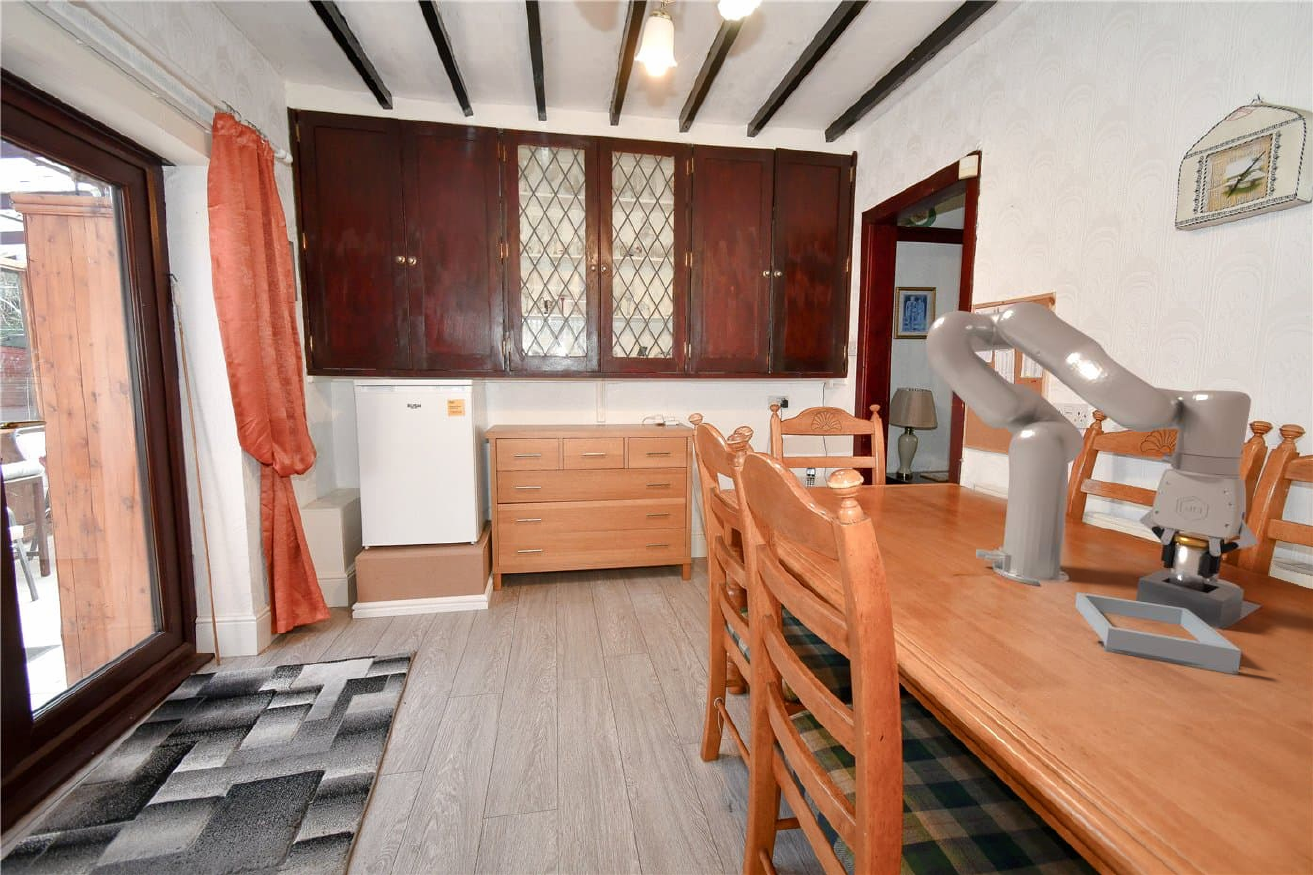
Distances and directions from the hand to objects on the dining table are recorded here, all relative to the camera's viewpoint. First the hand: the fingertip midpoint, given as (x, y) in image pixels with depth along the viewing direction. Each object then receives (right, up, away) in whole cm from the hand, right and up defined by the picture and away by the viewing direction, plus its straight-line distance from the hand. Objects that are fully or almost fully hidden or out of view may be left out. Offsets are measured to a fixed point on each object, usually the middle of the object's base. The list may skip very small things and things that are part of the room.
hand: (1188, 570), depth 85 cm
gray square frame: (-15, -9, -8) cm, 19 cm away
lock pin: (0, -5, +1) cm, 5 cm away
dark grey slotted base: (+4, -8, +3) cm, 9 cm away
